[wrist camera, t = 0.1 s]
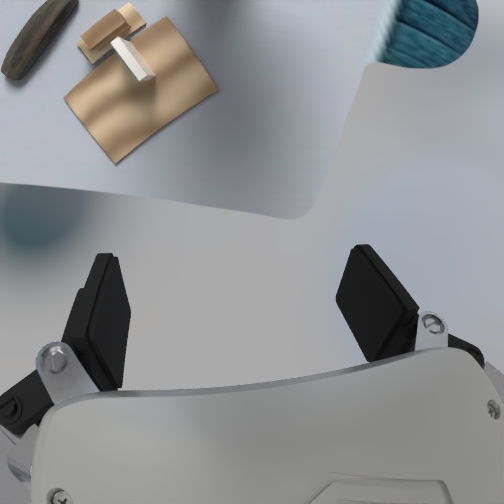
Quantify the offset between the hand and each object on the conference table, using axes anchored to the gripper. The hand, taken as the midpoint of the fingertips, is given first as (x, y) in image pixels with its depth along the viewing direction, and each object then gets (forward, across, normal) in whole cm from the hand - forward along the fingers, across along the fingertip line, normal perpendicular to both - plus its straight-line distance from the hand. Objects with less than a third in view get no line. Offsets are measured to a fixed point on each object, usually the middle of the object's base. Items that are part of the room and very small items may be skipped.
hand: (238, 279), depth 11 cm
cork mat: (+37, +11, -6) cm, 39 cm away
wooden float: (+38, +15, -16) cm, 44 cm away
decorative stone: (+38, +28, -19) cm, 51 cm away
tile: (+36, +10, -10) cm, 39 cm away
